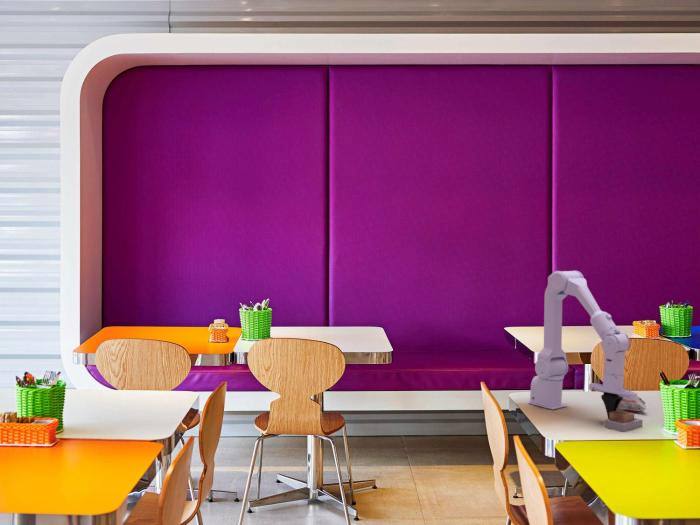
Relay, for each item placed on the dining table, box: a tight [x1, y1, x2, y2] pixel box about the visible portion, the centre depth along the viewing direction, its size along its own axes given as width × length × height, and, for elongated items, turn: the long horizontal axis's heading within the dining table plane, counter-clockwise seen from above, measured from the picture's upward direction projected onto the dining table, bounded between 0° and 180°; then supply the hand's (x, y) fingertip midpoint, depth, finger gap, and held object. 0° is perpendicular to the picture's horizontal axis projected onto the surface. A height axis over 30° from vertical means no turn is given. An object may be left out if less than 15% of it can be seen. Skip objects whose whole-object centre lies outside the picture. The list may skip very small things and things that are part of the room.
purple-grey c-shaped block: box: [604, 417, 644, 433], centre depth 224 cm, size 6×10×2 cm, turn 130°
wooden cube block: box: [608, 410, 635, 423], centre depth 224 cm, size 5×5×4 cm
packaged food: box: [616, 395, 647, 412], centre depth 244 cm, size 9×12×5 cm
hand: (610, 418), depth 227 cm, fingers closed
